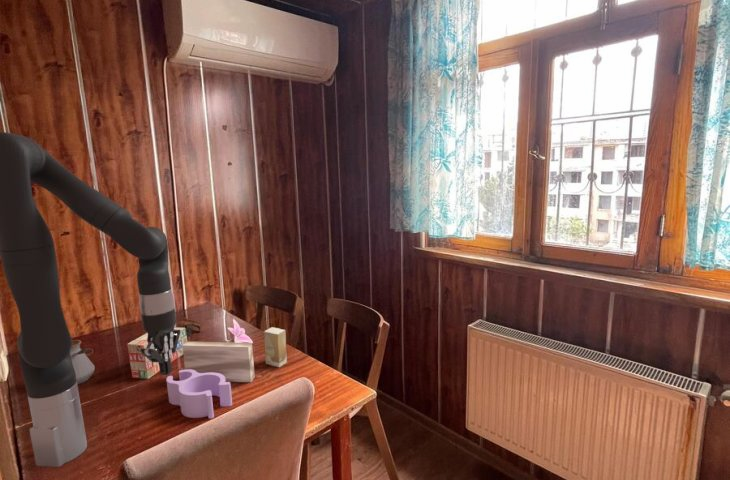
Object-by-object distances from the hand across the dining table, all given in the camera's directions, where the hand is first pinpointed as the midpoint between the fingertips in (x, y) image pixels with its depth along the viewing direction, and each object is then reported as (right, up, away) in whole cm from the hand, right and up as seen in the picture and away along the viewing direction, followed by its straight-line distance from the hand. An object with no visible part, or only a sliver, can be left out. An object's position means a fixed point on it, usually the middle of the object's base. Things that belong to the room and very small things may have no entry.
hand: (166, 373), depth 102 cm
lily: (+2, -7, +52) cm, 53 cm away
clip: (+2, -14, +16) cm, 21 cm away
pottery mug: (-23, -6, +65) cm, 69 cm away
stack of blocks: (-22, -10, +41) cm, 47 cm away
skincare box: (+20, -9, +38) cm, 44 cm away
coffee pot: (-41, -13, +27) cm, 51 cm away
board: (+3, -11, +29) cm, 31 cm away
